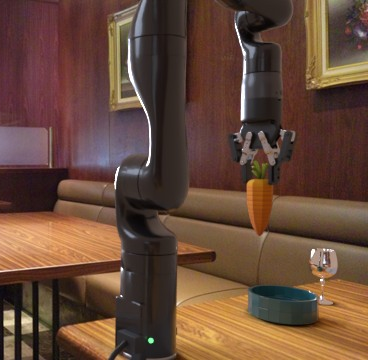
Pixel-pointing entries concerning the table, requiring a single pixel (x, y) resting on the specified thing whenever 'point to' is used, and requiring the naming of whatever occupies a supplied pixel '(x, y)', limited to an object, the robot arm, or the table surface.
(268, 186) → the carrot
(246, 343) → the table surface
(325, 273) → the wineglass
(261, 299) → the bowl
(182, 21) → the robot arm
